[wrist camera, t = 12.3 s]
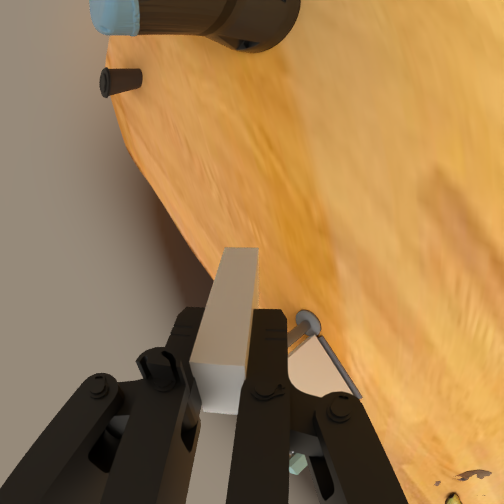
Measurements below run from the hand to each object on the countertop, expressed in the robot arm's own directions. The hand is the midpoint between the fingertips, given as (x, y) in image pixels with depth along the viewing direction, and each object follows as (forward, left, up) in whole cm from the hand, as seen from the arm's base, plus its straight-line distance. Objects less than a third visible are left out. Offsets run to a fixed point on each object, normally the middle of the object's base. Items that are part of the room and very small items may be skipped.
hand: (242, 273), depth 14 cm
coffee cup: (-59, -29, -24) cm, 70 cm away
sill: (+16, -27, -23) cm, 39 cm away
